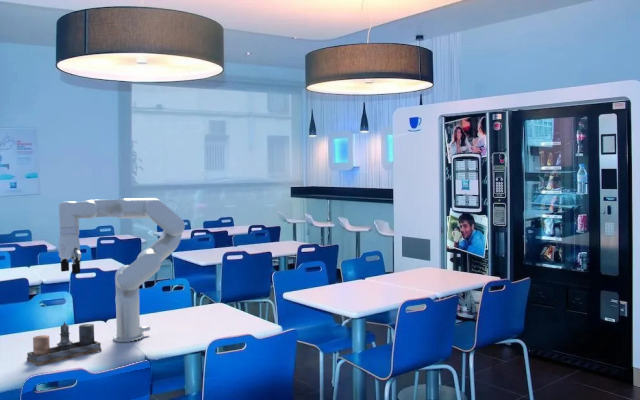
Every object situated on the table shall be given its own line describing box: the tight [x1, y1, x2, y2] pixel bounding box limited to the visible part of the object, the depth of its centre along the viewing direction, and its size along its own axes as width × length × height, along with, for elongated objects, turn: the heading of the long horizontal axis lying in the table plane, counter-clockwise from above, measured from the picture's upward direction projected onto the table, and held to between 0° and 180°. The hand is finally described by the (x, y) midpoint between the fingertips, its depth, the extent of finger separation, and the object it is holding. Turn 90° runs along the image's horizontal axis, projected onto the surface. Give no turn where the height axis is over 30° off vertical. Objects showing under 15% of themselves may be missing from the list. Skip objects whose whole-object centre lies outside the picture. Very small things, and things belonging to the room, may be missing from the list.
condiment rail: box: [26, 323, 102, 367], centre depth 236 cm, size 25×10×10 cm, turn 138°
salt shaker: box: [56, 321, 74, 351], centre depth 237 cm, size 6×6×12 cm
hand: (70, 272), depth 252 cm, fingers open, 9 cm apart
